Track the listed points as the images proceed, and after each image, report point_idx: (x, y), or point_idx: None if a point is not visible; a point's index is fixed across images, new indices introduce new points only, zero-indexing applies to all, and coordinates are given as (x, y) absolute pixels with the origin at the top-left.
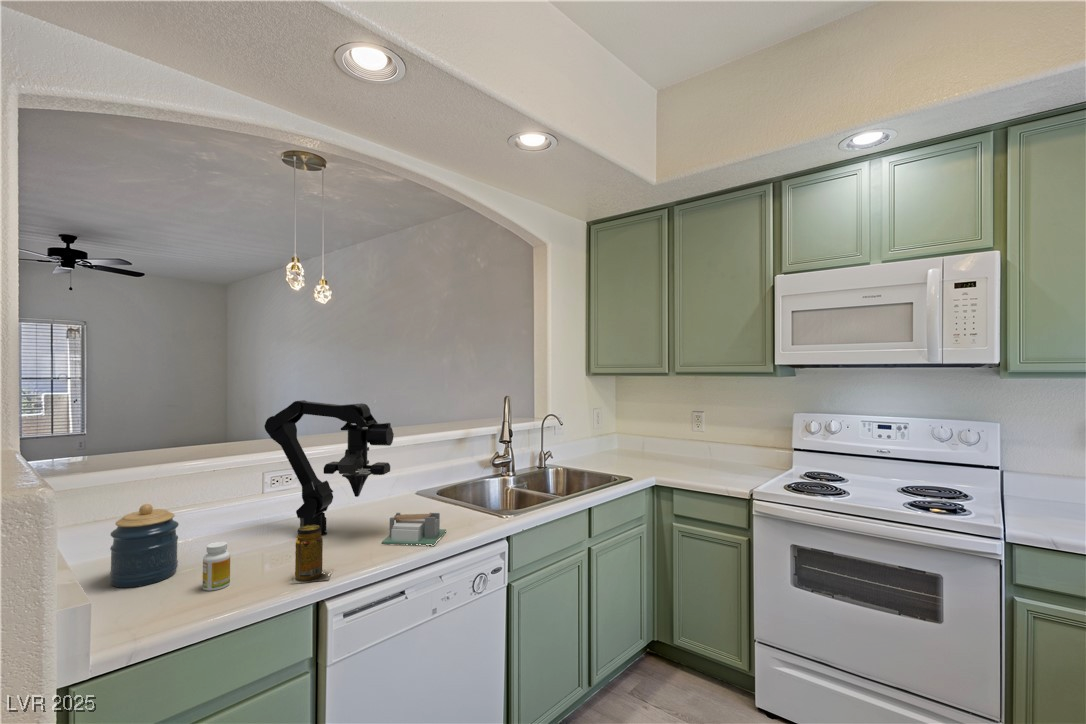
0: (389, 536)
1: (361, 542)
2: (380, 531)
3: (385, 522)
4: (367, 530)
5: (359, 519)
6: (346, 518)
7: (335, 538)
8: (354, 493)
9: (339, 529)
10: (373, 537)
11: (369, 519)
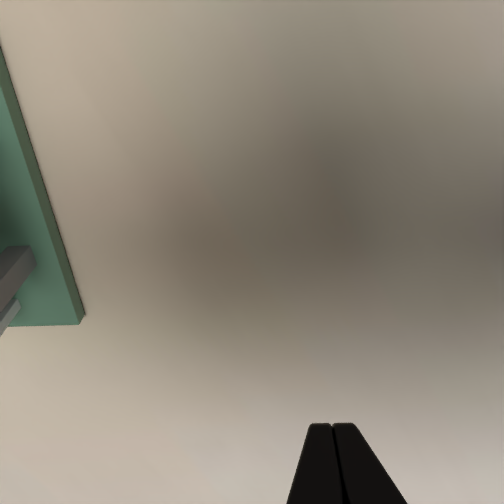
0: (13, 162)
1: (185, 54)
2: (183, 287)
3: (240, 414)
4: (277, 293)
5: (412, 438)
6: (494, 444)
7: (438, 114)
8: (368, 465)
9: (474, 289)
10: (160, 176)
11: None
